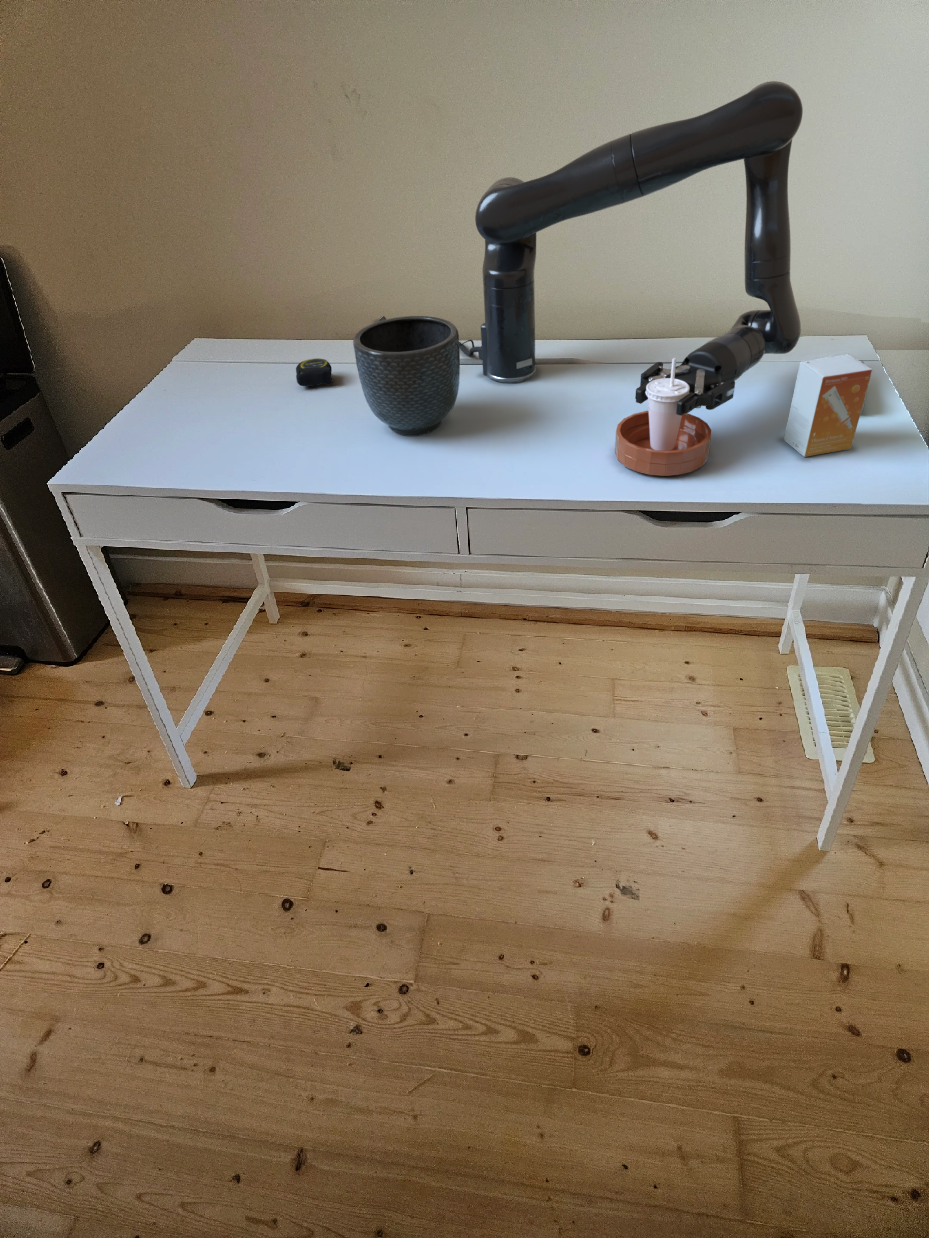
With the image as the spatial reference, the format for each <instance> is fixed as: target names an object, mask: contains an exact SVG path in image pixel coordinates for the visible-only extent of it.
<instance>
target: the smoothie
mask: <svg viewBox="0 0 929 1238" xmlns="http://www.w3.org/2000/svg"><path fill="white" fill-rule="evenodd" d="M676 366H677V358H676V357H672V359H671V368H672V369H671V368H670V369H671V378H663V379H657V380H653V381H651V382H650V383H648V384H647V386H646V392H645V393H646V395H647V397H648V399H647V409H648V410H647V411H649V428H650V446H651V448H652V449H654V450H661V451H669V450H672V449H673V448H674V447H675V443H676V439H677V435H678V430H679V426H680V422H681V418H682V416H680V415H677V414H676V410H677V403H678V401H679V400H680V399H682V398H683V397H685V396H686V395H688V394H689V389H690V387H689V385H688V384H687V383H686V382H684V381H682V380H678V379H674V378H675V367H676Z"/></svg>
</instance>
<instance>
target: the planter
mask: <svg viewBox="0 0 929 1238" xmlns="http://www.w3.org/2000/svg"><path fill="white" fill-rule="evenodd" d="M459 342H460V337H459V330H458V328H457V326H456V325H455V324H454V323H453V322H451V321H449V320H446V319H444V318H441V317H435V316H429V315H407V316H398V317H391V318H386V320H382V321H379V320H378V321H375V322H373V323H371V324H368V325H366V326H364V327H362V328H360V329H359V331H357V332H356V334H355V335H354V336H353V340H352V345H353V350H354V351H353V352H354V356H355V363H356V369H357V374H358V377H359V382H360V386H361V388H362V393H363V396H364V399H365V401H366V403H367V405H368V407H369V409H370V410H371V412H372V414H373V415H374V416H375V417H376V418H377V419H378V420H379V421H380V422H382V423H383V424H385V425H387V426H388V428H389V429H390V430H391V431H392V432H394V433H395V434H398V435H401V436H407V437H415V436H416V437H417V436H422V435H423V436H424V435H426V434H429V433H432V432H434V431H436V430H437V429H438V428H439V427H440V426H441V424H442V422H443V420H444V419H445V418H446V417H448V415H449V414H450V412H451V411H452V409H453V408H454V407H455V404H456V401H457V399H458V395H459V390H460V377H461V376H460V375H461V355H460V353H461V352H460V348H459Z"/></svg>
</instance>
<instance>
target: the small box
mask: <svg viewBox="0 0 929 1238" xmlns="http://www.w3.org/2000/svg"><path fill="white" fill-rule="evenodd" d="M862 362H863V361H861V362H860V360H859V359H857V358H856V357H854V356H853V355H851V354H850V353H846V354H841V355H834V356H825V357H820V358H815V359H810V360H802V361H800V362H799V366H798V370H797V374H796V375H797V376H796V380H795V383H794V390H793V395H792V398H791V404H790V409H789V412H788V413H789V414H788V417H787V423H786V428H785V433H784V437H783V441H784V442H786V443H787V444H788V445H789V446H791V447H792V448H793V449H794V450H795V451H796V452H798V454H799V455H801V456H803V458H804V457H805V458H806V457H811V456H817V455H823V454H828V453H833V452H839V451H848V450H849V451H850V450H851V449H852V445H853V441H854V438H855V435H856V432H857V428H858V424H859V420H860V416H861V413H862V412H861V409H862V406H863V402H864V398H865V395H866V396H867V391H868V387H869V383H870V381H871V376H872V372H873V368H872V367H870V366H868V365H867V364H865V363H864V364H863V363H862Z"/></svg>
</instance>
